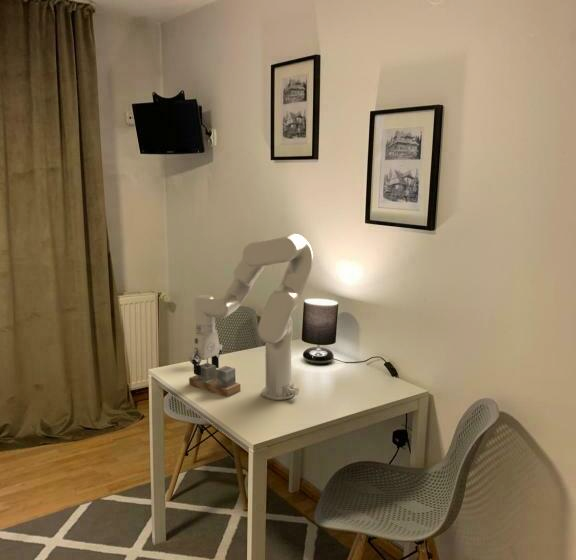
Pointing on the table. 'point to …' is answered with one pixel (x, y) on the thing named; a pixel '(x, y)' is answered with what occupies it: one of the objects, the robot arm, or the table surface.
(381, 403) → the table surface
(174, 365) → the table surface
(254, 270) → the robot arm
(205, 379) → the dice cube
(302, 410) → the table surface
